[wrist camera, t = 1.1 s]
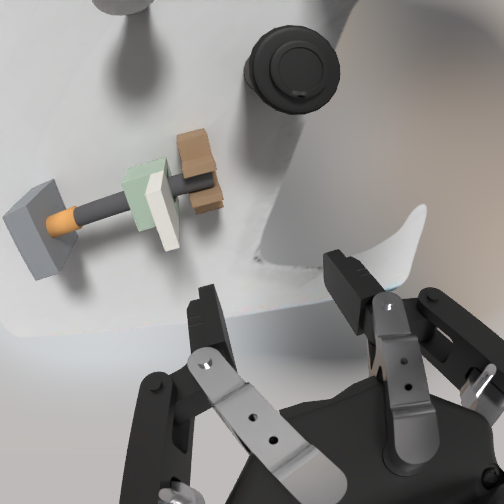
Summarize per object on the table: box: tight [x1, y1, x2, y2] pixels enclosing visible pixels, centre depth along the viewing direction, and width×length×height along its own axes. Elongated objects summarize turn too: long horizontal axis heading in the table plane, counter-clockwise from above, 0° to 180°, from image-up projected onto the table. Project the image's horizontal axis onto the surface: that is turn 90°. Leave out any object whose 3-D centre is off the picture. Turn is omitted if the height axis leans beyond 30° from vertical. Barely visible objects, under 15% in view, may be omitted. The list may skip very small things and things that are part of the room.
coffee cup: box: [244, 25, 340, 115], centre depth 24 cm, size 8×8×10 cm
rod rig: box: [2, 128, 224, 281], centre depth 28 cm, size 23×8×8 cm, turn 100°
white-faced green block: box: [121, 157, 180, 252], centre depth 26 cm, size 4×5×10 cm
